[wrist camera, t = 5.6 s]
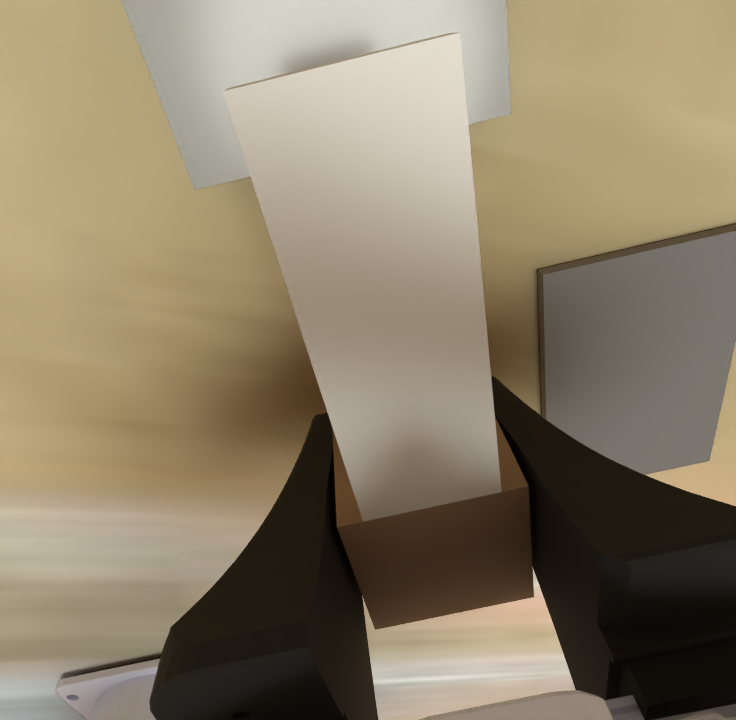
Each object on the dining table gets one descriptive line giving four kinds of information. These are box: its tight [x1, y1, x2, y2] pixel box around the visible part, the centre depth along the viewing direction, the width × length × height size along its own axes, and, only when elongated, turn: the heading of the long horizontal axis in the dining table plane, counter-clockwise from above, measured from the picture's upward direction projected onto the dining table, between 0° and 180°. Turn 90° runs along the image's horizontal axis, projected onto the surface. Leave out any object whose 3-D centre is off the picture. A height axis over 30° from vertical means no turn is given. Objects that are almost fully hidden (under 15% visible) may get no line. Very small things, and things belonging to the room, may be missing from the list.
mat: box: [538, 224, 736, 475], centre depth 16 cm, size 9×6×1 cm, turn 12°
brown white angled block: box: [223, 32, 534, 629], centre depth 11 cm, size 11×4×6 cm, turn 12°
